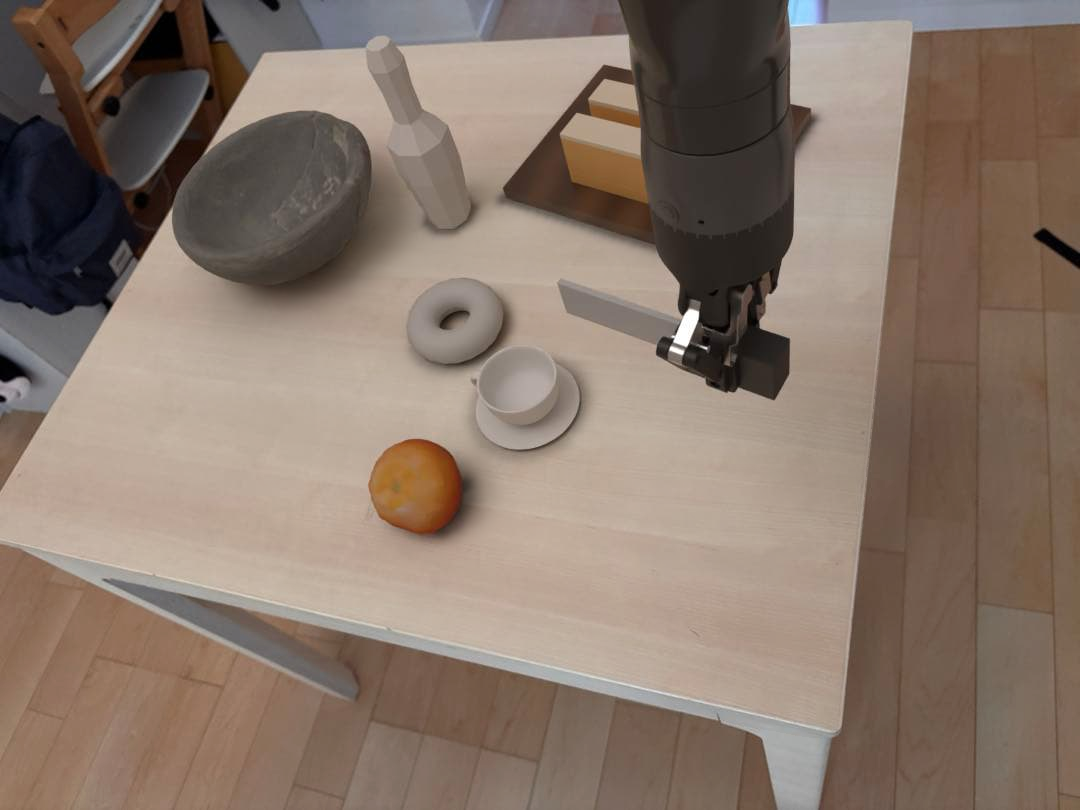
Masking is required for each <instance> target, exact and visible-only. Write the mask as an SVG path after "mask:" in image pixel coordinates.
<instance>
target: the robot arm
mask: <svg viewBox="0 0 1080 810" xmlns="http://www.w3.org/2000/svg"><path fill="white" fill-rule="evenodd" d="M616 1H617V4H618V8H619V11H620V14H621V19H622V20H623V23H624V27H625V30H626V32H627V35H628V50H629V59H630V60H629V62H630V70H631V71H632V75H633V81H634V87H635V93H636V99H637V105H638V111H639V117H640V128H641V142H640V148H641V161H642V167H643V173H644V179H645V185H646V190H647V197H648V203H649V208H650V214H651V220H652V226H653V232H654V237H655V243H656V245H655V248H656V251H657V254H658V257H659V259H660V260H661V262H662V263H663V265H664V266H665V267H666V268H667V269H668V271H669V272H670V273H671V274H672V276H673V277H674V278H675V280H676V281H677V283H678V284H679V290H678V298H677V310H678V313H679V314H680V315H681V316H682V321H681V324H680V326H679V329H678V331H677V334H676V333H672V334H671V336H670V338H668V337H665V336H663V337H662V338H661V339H660V341H659V342H658V344H657V345H656V349H655V355H656V356H657V357H658V358H660V359H662V360H663V361H666V362H667V363H669V364H670V365H673V366H674V367H676V368H678V369H679V370H681V371H684V372H687V373H689V374H692V375H695V376H698V377H700V378H702V379H704V380H705V385H706V386H707V387H709V388H711V389H714V390H717V391H720V392H723V393H725V394H728V392H729V393H736V392H737V390H738V389H739V388H738V387H739V385H740V371H739V357H738V352H739V341H740V339H741V338H742V336H743V335H744V333H745V332H746V330H747V324H748V325H751V326H754V327H757V328H760V329H761V324H760V323H761V320H762V319H763V317H764V316H765V314H766V311H767V309H766V308H767V302H766V298H767V297H768V295H772V294H773V293H775V290H776V289H777V288H778V285H779V283H778V281H779V278H780V277H779V276H780V272H781V268H782V263H783V259H784V258H785V256H786V254H787V253H788V251H789V249H790V247H791V246H792V245H791V244H792V242H793V239H794V234H795V233H794V231H795V179H796V178H795V175H796V174H795V170H796V143H795V130H794V123H793V117H792V111H791V104H792V103H791V48H792V47H791V46H792V39H791V23H790V15H789V13H790V12H789V3H790V0H616ZM710 338H712V339H715V340H718V341H720V342H722V343H720V342H717V341H714V340H711V339H710Z"/></svg>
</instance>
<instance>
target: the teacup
mask: <svg viewBox="0 0 1080 810" xmlns="http://www.w3.org/2000/svg"><path fill="white" fill-rule="evenodd" d="M469 380H470V383H471V384H472V385H473V387H475V388H476V390H477V398H476V403H475V408H474V409H475V412H474V414H475V420H476V423H477V426H478V428H479V430H480V432H481V433H482V434H483V436H484V437H485V438H486V439H488V440H489V441H490V442H492V443H493V444H494V445H497V446H499V447H501V448H504V449H505V448H506V449H509V450H530V449H535V448H538V447H541V446H544V445H547V444H548V443H550V442H552V441H554V440H556V439H557V438H558V437H560V436H561V435H562V434H564V432H565V431H566V430H567V429H568V428H569V427H570V425H571V424H572V423H573V421H574V420H575V418H576V415H577V413H578V411H579V405H580V395H581V394H580V389H579V385H578V382H577V380H576V379H575V377H574V376H573V374H572V373H571V372H570V371H569V370H568V369H567V368H565V367H564V366H562V365H560V363H557V362H555V360H554V358H553V357H552V355H550V353H549V352H547V351H546V350H545V349H544V348H542V347H539V346H536V345H532V344H514V345H510V346H507V347H505V348H502V349H500V350H498V351H497V352H495V353H493V354H492V355H491V356H490V357H489V358H488V359H486V361H485V362H484V363H483V365H482V366H481V368H480V370H474V371H473V372H471V375H470V378H469Z"/></svg>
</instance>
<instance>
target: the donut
mask: <svg viewBox="0 0 1080 810" xmlns="http://www.w3.org/2000/svg"><path fill="white" fill-rule="evenodd" d="M461 311H462V312H463V311H464V312H467V313H469V317H468V319H466V321H465V322H464V323H463V324H461V325H460V326H458V327H456V328H452V329H443V328H441V324H442V322H443V320H444V319H445V318H446V317H448V316H449V315H450V314H453V313H455V312H461ZM503 320H504V308H503V305H502V301H501V298H500V297H499V296H498V294H497V293H496V291H495V290H494V289H493V288H492V287H491V286H490V285H488V284H487V283H484V282H482V281H481V280H478V279H475V278H469V277H455V278H449V279H446V280H443V281H440V282H437V283H435V284H434V285H432V286H430V287H429V288H427V289H425V290H424V291H423V292H422V293H421V294H420V296H418V297H417V298H416V300H415V301H414V302H413V304H412V306H411V308H410V309H409V310H408V315H407V320H406V328H405V329H406V333H407V337H408V342H409V343H410V345H411V346H412V348H413V349H414V351H415V352H416V353H418V354H419V355H420V356H422V357H423V358H424V359H426V360H427V361H430V362H434V363H439V364H443V365H447V364H459V363H462V362H463V363H464V362H465V361H469V360H472V359H474V358H476V357H477V356H480V355H481V354H483V352H485V351H487V349H489V347H490V346H491V345H493V343H494V342H495V341H496V339H497V337H498V335H499V334H500V331H501V330H502V326H503Z"/></svg>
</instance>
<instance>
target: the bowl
mask: <svg viewBox="0 0 1080 810" xmlns="http://www.w3.org/2000/svg"><path fill="white" fill-rule="evenodd" d="M365 137H366V136H364V134H363V132H362V131H361V130H360V129H359V128H358V127H357V126H356V125H355V124H353V123H352V122H349V121H347V120H343V119H341V118H338V117H336V116H335V115H333V114H331V113H328V112H323V111H318V110H295V111H294V110H293V111H286V112H281V113H279V114H278V113H277V114H273V115H270V116H266V117H263V118H261V119H258V120H256V121H254V122H251V123H249V124H247V125H245V126H243V127H241V128H239V129H237V130H236V131H233V132H232V133H231V134H229V135H228V136H225V137H224V138H223V139H222V140H221V141H219V142H218V143H216V144H215V145H213V146H212V147H211V148H210V149H209V150H208V151H207V152H206V153H205V154H204V155H202V156H201V157H200V158H199V160H197V162H196V163H194V165H193V166H192V167H191V169H190V170H189V172H188V173H187V174H186V175H185V176H184V177H183V179H182V181H181V183H180V185H179V187H178V189H177V191H176V193H175V196H174V199H173V203H172V209H171V210H172V211H171V225H172V231H173V235H174V238H175V240H176V243H177V245H178V246H179V249H181V251H183V253H184V254H185V255H186V256H187V257H188V258H189V259H190V260H191V261H192V262H193V263H195V265H197V266H198V267H200V268H201V269H202V270H205V271H206V272H208V273H210V274H211V275H214V276H216V277H218V278H221V279H224V280H225V281H229V282H232V283H233V282H234V283H238V284H244V285H250V286H276V285H280V284H283V283H287V282H290V281H293V280H296V279H299V278H302V277H305V276H306V275H309V274H310V273H313V272H315V271H316V270H318V269H320V268H321V267H323V266H324V265H325V264H327V263H328V262H329V261H331V260H332V259H333V258H335V257H336V256H337V255H338V254H339V253H340V252H341V251H342V250H343V249H344V248H345V246H347V245H348V243H349V242H350V241H351V239H352V238H353V237H354V235H355V233H356V232H357V230H358V229H359V227H360V225H361V223H362V219H363V218H364V214H365V211H366V209H367V204H368V201H369V195H370V191H371V187H372V175H373V173H372V171H373V169H372V168H373V167H372V165H373V164H372V163H373V162H372V155H371V150H370V147H369V144H368V141H367V139H366V138H365Z"/></svg>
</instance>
